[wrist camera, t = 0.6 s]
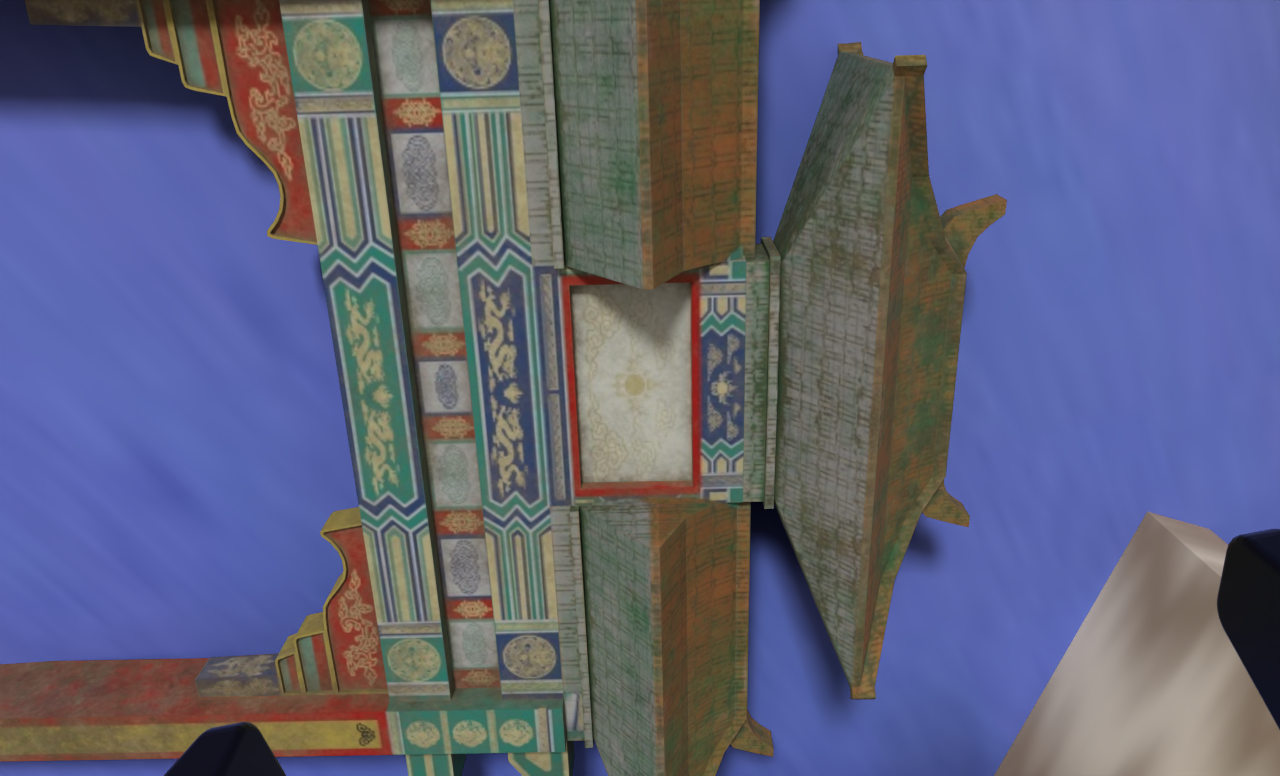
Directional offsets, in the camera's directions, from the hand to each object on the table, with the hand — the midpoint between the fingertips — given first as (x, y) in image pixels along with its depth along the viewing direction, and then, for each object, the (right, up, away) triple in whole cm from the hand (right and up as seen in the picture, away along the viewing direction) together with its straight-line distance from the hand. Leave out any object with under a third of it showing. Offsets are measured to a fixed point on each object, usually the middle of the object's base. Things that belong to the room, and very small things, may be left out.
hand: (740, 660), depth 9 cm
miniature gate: (-9, +3, +15) cm, 17 cm away
